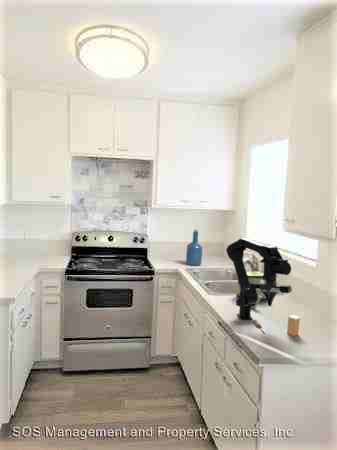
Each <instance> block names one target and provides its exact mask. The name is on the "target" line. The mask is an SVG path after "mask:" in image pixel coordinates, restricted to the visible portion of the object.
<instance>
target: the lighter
mask: <svg viewBox="0 0 337 450" xmlns="http://www.w3.org/2000/svg"><path fill="white" fill-rule="evenodd" d="M261 297H262V296H260V295H259V296H258V300H257V302H256V304H255V306H251V310H252V309H253V310H255V309H256V307H257V306H256V305H257V304H258V303H259V302H260V301H259V300H260V299H261Z"/></svg>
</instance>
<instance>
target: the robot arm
mask: <svg viewBox="0 0 337 450" xmlns="http://www.w3.org/2000/svg"><path fill="white" fill-rule="evenodd" d="M247 249H248V250H251V251H253V252H256V253H257V254H259V256H260V257H261V258H262V259H261V260H260V261H259V263H260V264H261V263H263V273H264V275H263V279H262V280H261V282H260V283H255V282H253V283H251V284H250V283H249V280H248V276H247V273H246V272H247V270H246V268H245V264H244V260H243V259H244V254H245V253H244V251H245V250H247ZM225 250H226V254H227V256H228V258H229V259H230V260H231V261H232V262H233V265H234V269H235V273H236V276H237V281H238V280H239V284H240V287H241V290H240V298H239V297H238V299H236V300H235V305H236V306H237V307H239V310H238V312H239V313H236V316H237V317H238V318H239V319H240V320H250V321H251V320H252V321H253V318H252V315H251V314H252V313H251V312H252V308H251V306H255V304H256V305H257V300H258V297H257V296H258V295H257V292H256V289H257V288H259V289H260V290H261V292H262V293H263V294H264V295H265V297H266V299H267V304H268V307H272V305H273V302H274V300H275V297H276V295H277V294H279V293H283V294H289V293H291V292H292V289H293V288H292V286H291V285H289V284H281V285H279V286H278V283H277V277H278V275H283V276H288V275H289V274H291V272H292V267H291V264H290V263H289V260H288V259H284V258H283V257H282V255H281V254H280V252H279V249H278V247H277V246H276V245H269V244H268V245H266V244H262V243H259V242H257V241H254V240H251V239H249V238H244V237H243V238H239V239H237V240H236V241H234V242H232V243H231V244H229V245H228V246H227V248H226V249H225Z"/></svg>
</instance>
